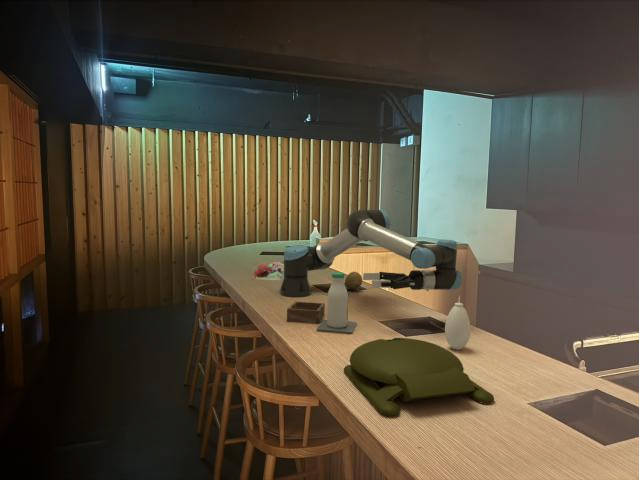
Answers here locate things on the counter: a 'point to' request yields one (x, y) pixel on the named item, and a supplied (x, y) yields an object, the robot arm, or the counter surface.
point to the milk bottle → (337, 302)
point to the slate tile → (345, 330)
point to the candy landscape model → (270, 271)
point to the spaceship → (409, 373)
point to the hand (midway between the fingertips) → (367, 280)
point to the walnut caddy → (306, 312)
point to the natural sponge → (353, 281)
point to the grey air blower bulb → (457, 327)
